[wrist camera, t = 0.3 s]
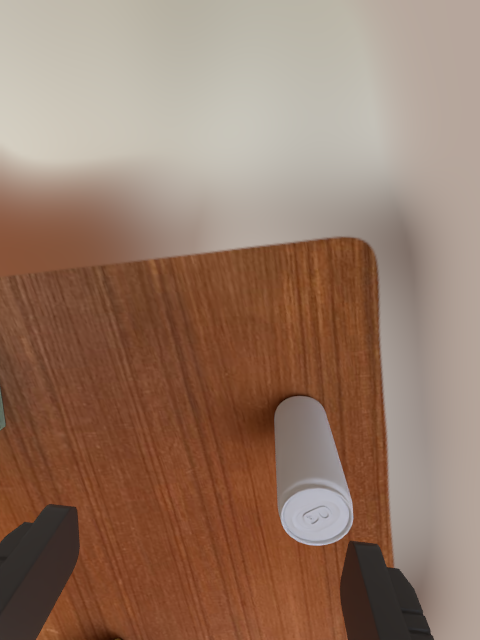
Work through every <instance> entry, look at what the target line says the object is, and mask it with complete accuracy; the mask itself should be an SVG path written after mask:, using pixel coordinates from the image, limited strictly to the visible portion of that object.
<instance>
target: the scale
mask: <svg viewBox="0 0 480 640" xmlns="http://www.w3.org/2000/svg"><path fill="white" fill-rule="evenodd" d="M5 426H6V424H5V417H4V410H3V403H2V396H1V389H0V430H1V429H2V428H4V427H5Z"/></svg>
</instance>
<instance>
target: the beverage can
mask: <svg viewBox="0 0 480 640" xmlns="http://www.w3.org/2000/svg"><path fill="white" fill-rule="evenodd" d="M274 426H275V450H276V475H277V499H278V511H279V516H280V518H281V523H282V526H283V527H284V529H285V531H286V532H287V533H288V534H289V535H290V536H291V537H292V538H294V539H295V540H297V541H298V542H301V543H304V544H307V545H315V546H318V545H327V544H330V543H334V542H336V541H337V540H339V539H341V538H342V537H343V536H344V535H346V534H347V533H348V531H349V529H350V528H351V526H352V522H353V507H352V500H351V496H350V493H349V490H348V486H347V483H346V480H345V476H344V473H343V469H342V466H341V463H340V459H339V456H338V453H337V449H336V446H335V443H334V439H333V436H332V433H331V429H330V426H329V423H328V419H327V416H326V412H325V410H324V408H323V406H322V405H321V404H320V403H319V402H318V401H316V400H315V399H313V398H310V397H306V396H294V397H290V398H287V399H286V400H284V401H283V402H281V403H280V405H279V406H278V407H277V409H276V412H275V416H274Z"/></svg>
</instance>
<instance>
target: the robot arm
mask: <svg viewBox="0 0 480 640" xmlns="http://www.w3.org/2000/svg"><path fill="white" fill-rule="evenodd" d="M79 547H80V544H79V530H78V515H77V509H76V507H71V506H63V505H54V504H49V505H47V506H46V507H45V508H44V509H43V511H42V512H41V513H40V515H39V516H38V517H37V519H36V520H35V521H34V523H28V522H24V523H23V524H22V525H20V526H19V527H18V528H16V529H15V530H14V531H12V532H11V533H10V534H8V535H7V536H6V537H5V538H4V539H3V540H2V541H1V543H0V640H36V638H37V636H38V635H39V633H40V631H41V629H42V627H43V625H44V623H45V622H46V620H47V618H48V616H49V614H50V612H51V610H52V609H53V607H54V605H55V603H56V601H57V599H58V597H59V596H60V594H61V592H62V590H63V588H64V586H65V584H66V583H67V581H68V579H69V577H70V575H71V573H72V571H73V569H74V567H75V565H76V562H77V558H78V554H79ZM340 596H341V605H342V611H343V616H344V621H345V626H346V631H347V637H348V640H434V638H433V636H432V635H431V633H430V628H429V626H428V623H427V621H426V618H425V616H423V610H422V608H421V605H420V603H419V600H418V598H417V595H416V593H415V590H414V588H413V587H412V586H411V584H410V583H409V582H408V580H407V579H406V578H405V576H404V575H403V574H402V572H401V571H400V570H399V569H396V568H388V567H386V564H385V561H384V558H383V555H382V552H381V550H380V547H379V546H378V545H377V544H373V543H365V542H356V541H350V542H349V544H348V548H347V553H346V558H345V562H344V567H343V572H342V576H341V583H340Z"/></svg>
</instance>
